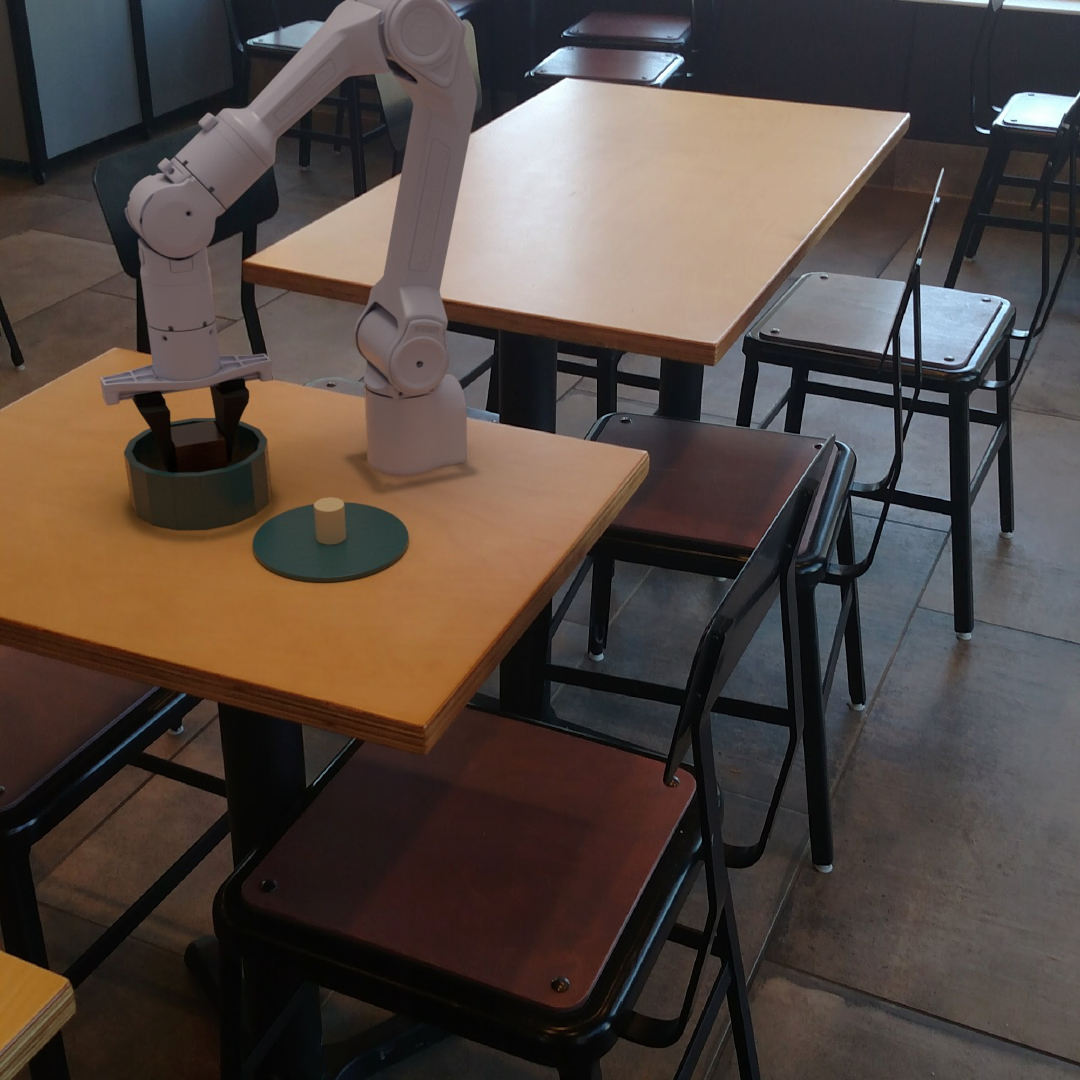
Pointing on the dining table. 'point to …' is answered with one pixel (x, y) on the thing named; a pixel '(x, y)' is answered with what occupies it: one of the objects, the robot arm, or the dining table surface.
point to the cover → (330, 541)
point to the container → (199, 483)
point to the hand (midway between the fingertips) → (198, 463)
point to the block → (198, 447)
